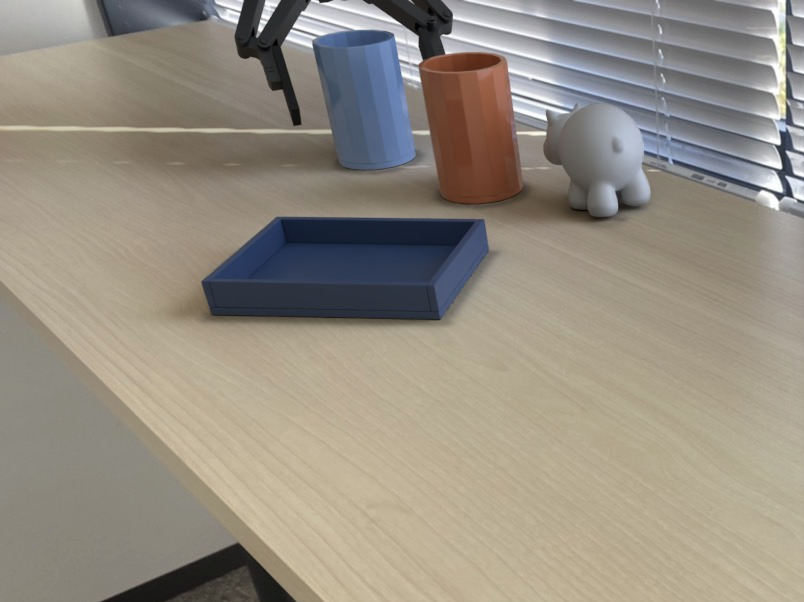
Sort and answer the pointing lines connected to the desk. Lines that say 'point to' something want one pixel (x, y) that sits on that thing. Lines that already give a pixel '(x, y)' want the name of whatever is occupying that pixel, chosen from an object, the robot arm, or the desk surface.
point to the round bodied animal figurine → (598, 157)
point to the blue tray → (349, 268)
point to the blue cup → (365, 98)
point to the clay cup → (472, 126)
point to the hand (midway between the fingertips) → (370, 107)
